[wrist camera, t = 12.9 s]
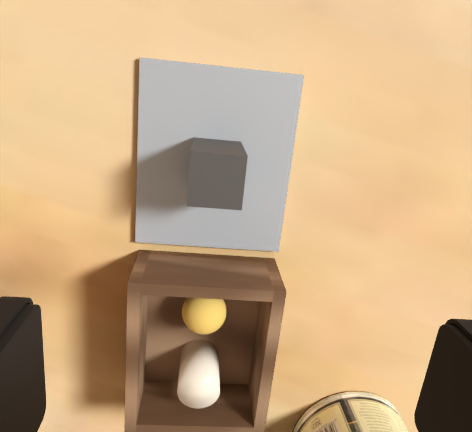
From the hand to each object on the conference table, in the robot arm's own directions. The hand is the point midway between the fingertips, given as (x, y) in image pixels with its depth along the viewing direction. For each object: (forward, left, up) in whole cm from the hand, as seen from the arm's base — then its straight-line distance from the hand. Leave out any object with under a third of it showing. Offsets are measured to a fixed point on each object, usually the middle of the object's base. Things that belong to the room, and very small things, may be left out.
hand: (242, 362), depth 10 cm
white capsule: (-15, 0, -20) cm, 25 cm away
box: (-13, 0, -20) cm, 24 cm away
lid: (0, 0, -21) cm, 21 cm away
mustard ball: (-10, 0, -20) cm, 22 cm away
